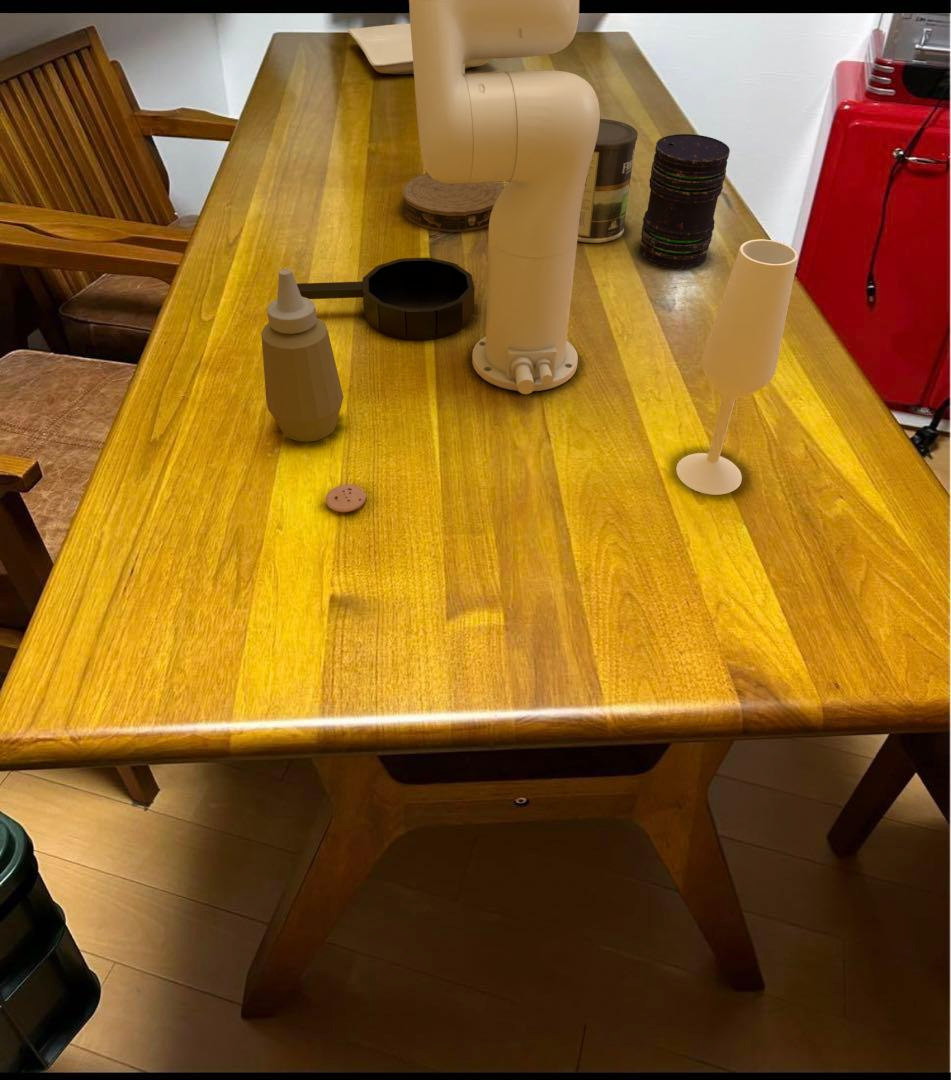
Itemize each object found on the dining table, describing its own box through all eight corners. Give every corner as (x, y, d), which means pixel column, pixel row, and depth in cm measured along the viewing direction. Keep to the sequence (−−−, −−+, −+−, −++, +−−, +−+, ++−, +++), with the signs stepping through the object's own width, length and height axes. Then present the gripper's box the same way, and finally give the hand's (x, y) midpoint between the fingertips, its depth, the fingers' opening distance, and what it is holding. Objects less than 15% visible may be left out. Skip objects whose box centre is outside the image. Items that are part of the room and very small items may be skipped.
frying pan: (478, 338, 105) (478, 309, 102) (282, 345, 103) (278, 316, 100) (468, 283, 115) (468, 255, 112) (289, 289, 113) (285, 261, 110)
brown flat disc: (508, 191, 137) (509, 173, 135) (500, 234, 126) (501, 215, 124) (411, 186, 138) (410, 167, 136) (395, 228, 127) (394, 208, 125)
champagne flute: (662, 472, 87) (711, 251, 70) (700, 444, 91) (755, 227, 74) (717, 504, 84) (783, 279, 67) (754, 474, 87) (825, 253, 70)
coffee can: (626, 217, 131) (640, 121, 121) (621, 246, 124) (635, 147, 114) (560, 210, 132) (568, 115, 122) (551, 239, 125) (559, 140, 115)
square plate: (347, 45, 195) (346, 26, 192) (461, 38, 201) (461, 19, 198) (373, 81, 176) (372, 61, 174) (497, 72, 182) (498, 51, 180)
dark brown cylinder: (710, 244, 125) (733, 138, 114) (704, 274, 118) (728, 165, 107) (642, 235, 127) (659, 130, 116) (633, 264, 120) (650, 155, 109)
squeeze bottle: (311, 396, 96) (288, 244, 83) (362, 424, 92) (346, 269, 80) (255, 429, 91) (223, 273, 79) (306, 459, 88) (281, 302, 75)
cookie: (375, 499, 83) (374, 492, 83) (344, 520, 81) (343, 512, 80) (348, 482, 85) (347, 474, 84) (317, 502, 83) (316, 494, 82)
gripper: (419, 8, 129) (422, 134, 142) (424, 36, 118) (427, 169, 131) (468, 8, 129) (467, 133, 142) (478, 35, 119) (475, 168, 132)
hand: (448, 150), depth 137 cm, fingers closed
